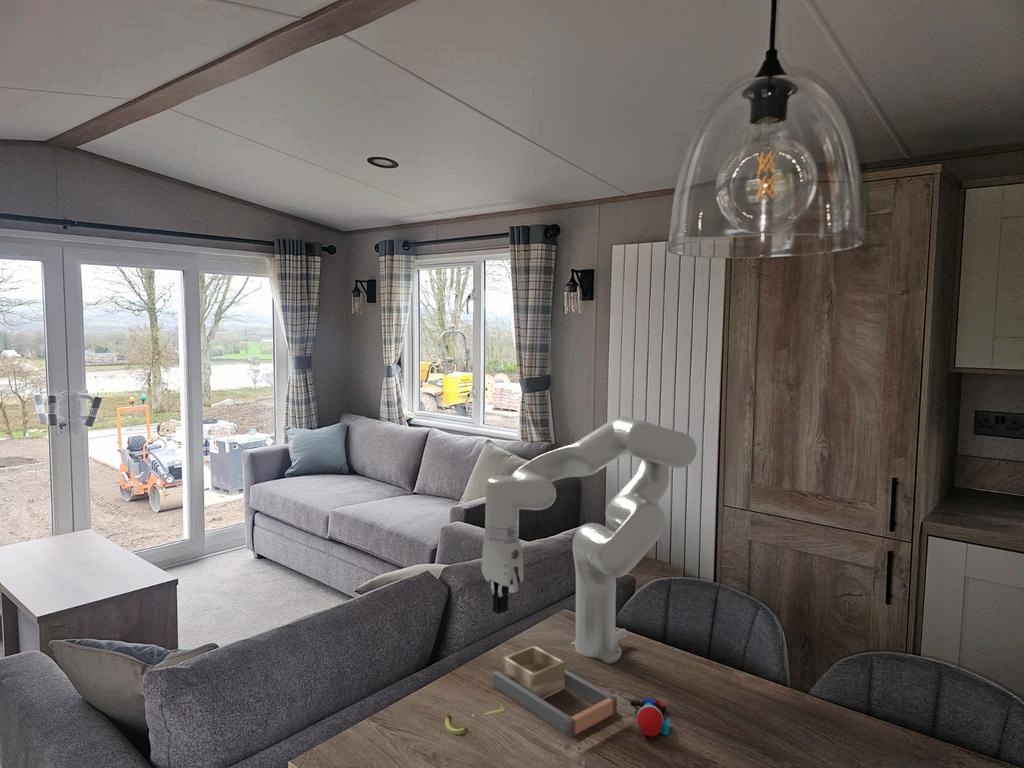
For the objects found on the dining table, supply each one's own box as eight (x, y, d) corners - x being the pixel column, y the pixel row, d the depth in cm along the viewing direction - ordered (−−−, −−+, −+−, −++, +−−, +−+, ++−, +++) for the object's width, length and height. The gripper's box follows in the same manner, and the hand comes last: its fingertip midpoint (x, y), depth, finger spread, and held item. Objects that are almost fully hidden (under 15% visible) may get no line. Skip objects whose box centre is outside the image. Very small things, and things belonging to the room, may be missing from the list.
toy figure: (628, 709, 142) (631, 739, 128) (630, 685, 143) (633, 713, 128) (665, 715, 141) (671, 746, 127) (667, 691, 142) (674, 719, 127)
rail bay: (492, 691, 146) (492, 672, 146) (537, 671, 154) (537, 653, 154) (570, 743, 128) (570, 722, 127) (616, 718, 136) (616, 698, 136)
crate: (502, 684, 147) (502, 657, 146) (533, 670, 152) (533, 645, 152) (533, 703, 139) (533, 675, 138) (564, 688, 145) (564, 662, 144)
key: (508, 719, 136) (508, 709, 136) (453, 739, 130) (453, 729, 130) (490, 703, 143) (490, 693, 142) (437, 721, 136) (437, 711, 136)
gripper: (536, 536, 148) (534, 618, 149) (494, 521, 159) (493, 597, 160) (510, 543, 143) (508, 627, 144) (468, 526, 154) (467, 604, 156)
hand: (500, 611), depth 152 cm, fingers closed
